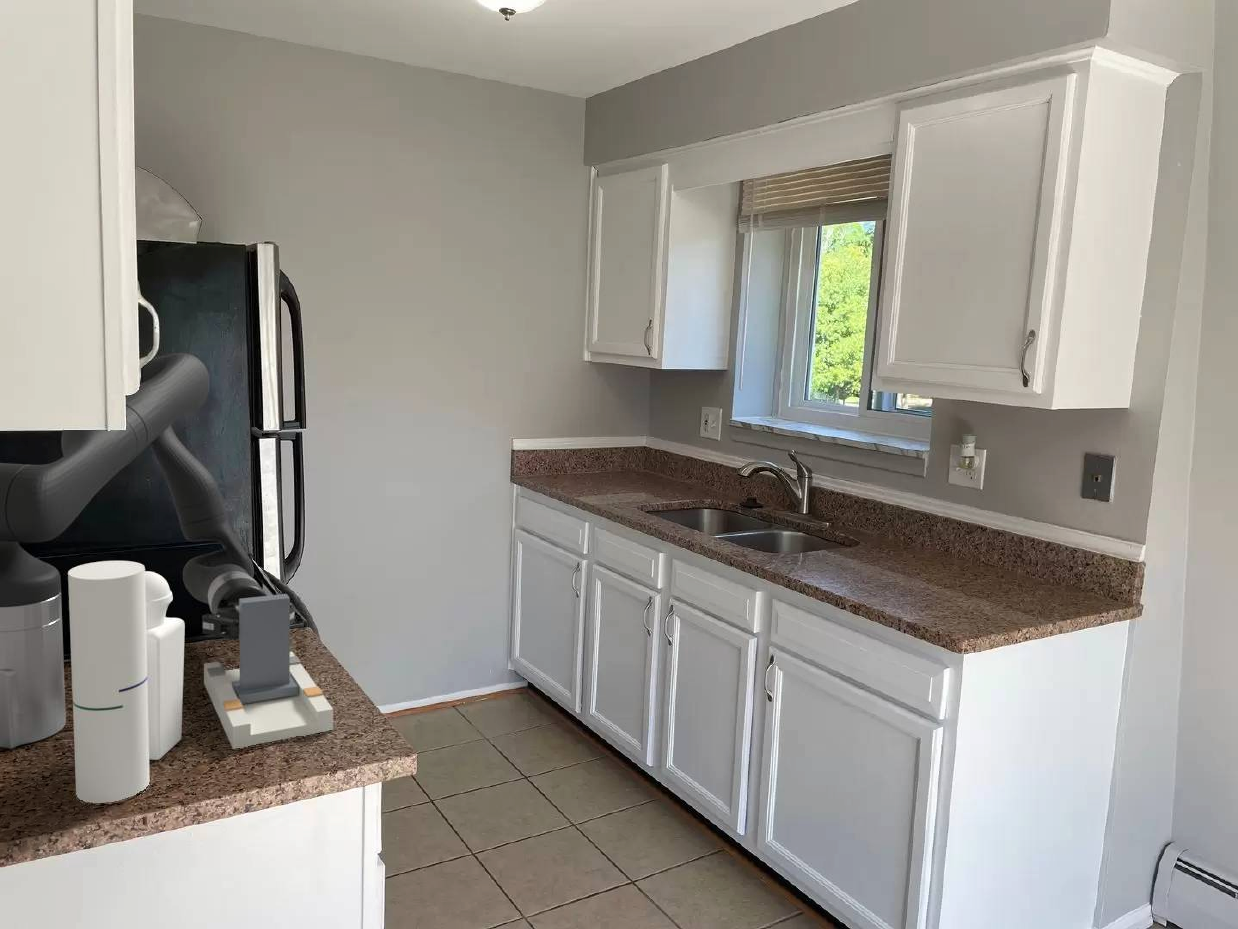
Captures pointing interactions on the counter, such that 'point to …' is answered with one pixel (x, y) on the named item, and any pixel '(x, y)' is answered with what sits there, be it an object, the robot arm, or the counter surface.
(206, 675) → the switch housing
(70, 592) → the cylindrical container
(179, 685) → the soap dispenser
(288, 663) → the switch tab
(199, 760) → the counter surface
